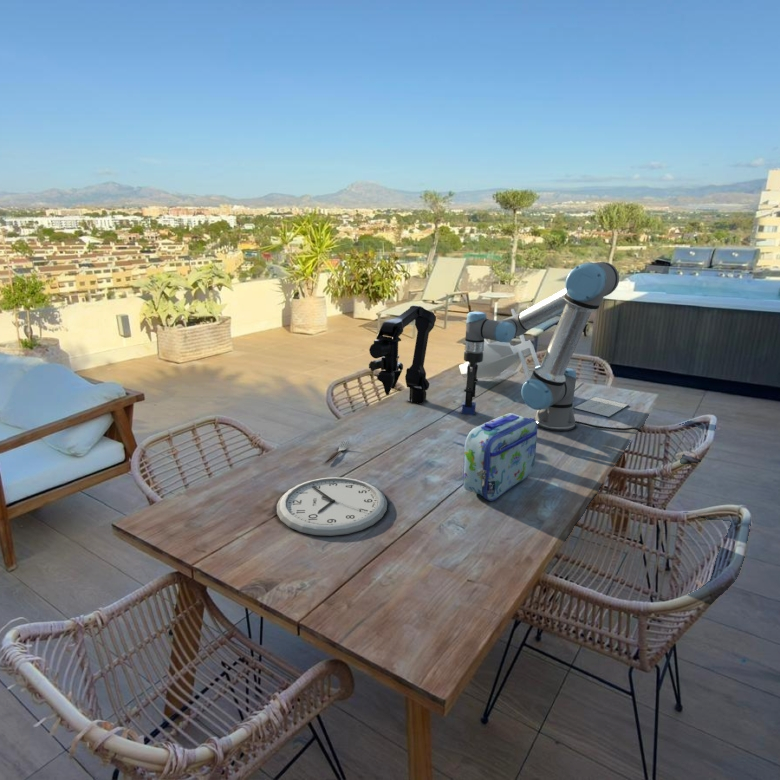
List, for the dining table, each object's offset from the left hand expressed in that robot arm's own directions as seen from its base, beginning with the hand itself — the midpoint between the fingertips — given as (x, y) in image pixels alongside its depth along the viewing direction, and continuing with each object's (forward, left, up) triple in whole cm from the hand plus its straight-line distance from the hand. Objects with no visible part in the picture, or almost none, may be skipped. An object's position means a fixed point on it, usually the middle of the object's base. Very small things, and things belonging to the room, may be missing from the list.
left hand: (390, 391), depth 210 cm
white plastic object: (+21, +63, -10) cm, 68 cm away
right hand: (+26, +20, -5) cm, 33 cm away
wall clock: (+28, -70, -10) cm, 76 cm away
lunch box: (+61, -33, -10) cm, 70 cm away
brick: (+25, +21, -10) cm, 34 cm away
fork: (+8, -44, -10) cm, 45 cm away
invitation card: (+68, +62, -10) cm, 93 cm away
